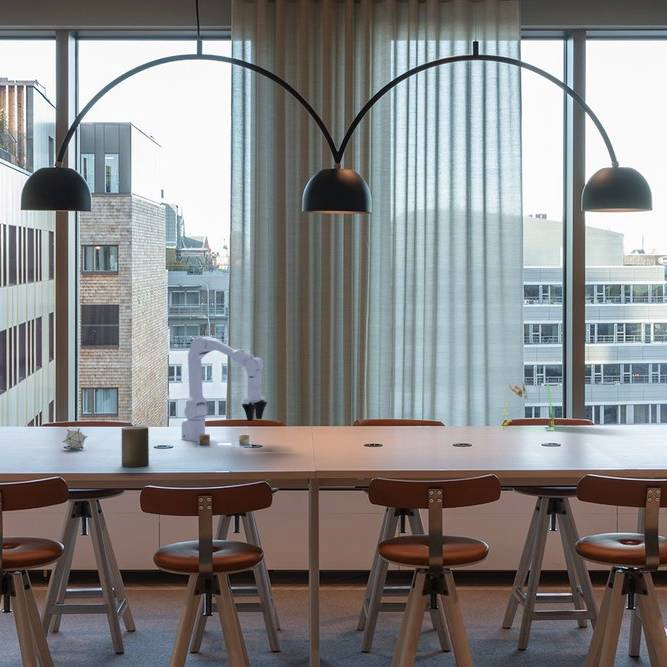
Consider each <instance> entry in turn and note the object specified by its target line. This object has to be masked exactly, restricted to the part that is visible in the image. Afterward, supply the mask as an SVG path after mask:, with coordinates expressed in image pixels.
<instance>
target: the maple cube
mask: <svg viewBox="0 0 667 667" xmlns="http://www.w3.org/2000/svg"><path fill="white" fill-rule="evenodd" d="M238 438H239V440H238V442H239V445H249V442H250V433H239V437H238Z"/></svg>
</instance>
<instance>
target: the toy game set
mask: <svg viewBox="0 0 667 667" xmlns="http://www.w3.org/2000/svg"><path fill="white" fill-rule="evenodd" d="M524 382H525V381H523V380H522V382H521V383H522V389H521V388H520V387H519V386H517V385H515V386H514V388H512V386H511V384H509V388H510V390H511V391H513V392H514V393H515V394H516V395H517V396H518V397H520V398H522V399H523V400H528V391H527V389H526V388H525V383H524ZM545 382H546V389H547V396H548V405H549V412H550V419H551V420H550V421H548V426H544V429H545V430H550V429H553V431H556V430H555V429H556V428H555V418H554V413H553V408H552V400H551V393H550V392H551V391H550V384H549V383H548V381H547V380H546V381H545ZM504 389H507V387H502V388H501V390H504ZM517 390H518V391H517ZM503 406H509V403H503ZM506 411H508V409H503V410H502V412H506ZM509 414H511V412H507V413H501V414H500V415H501V416H504V415H509ZM512 421H513V420H512V419H511V420H505V422H504V423H503V424H502V426H503V427H500V429H506V427H504V425H505V426H507V425H508V423H511V422H512Z"/></svg>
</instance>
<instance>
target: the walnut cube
mask: <svg viewBox="0 0 667 667" xmlns="http://www.w3.org/2000/svg"><path fill="white" fill-rule="evenodd" d="M210 438H211V436H210V433H207V434H206V433H205V434H200V436H199V439H200V441H199V442H200V446H201V445H210V442H211V441H210V440H211V439H210Z"/></svg>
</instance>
